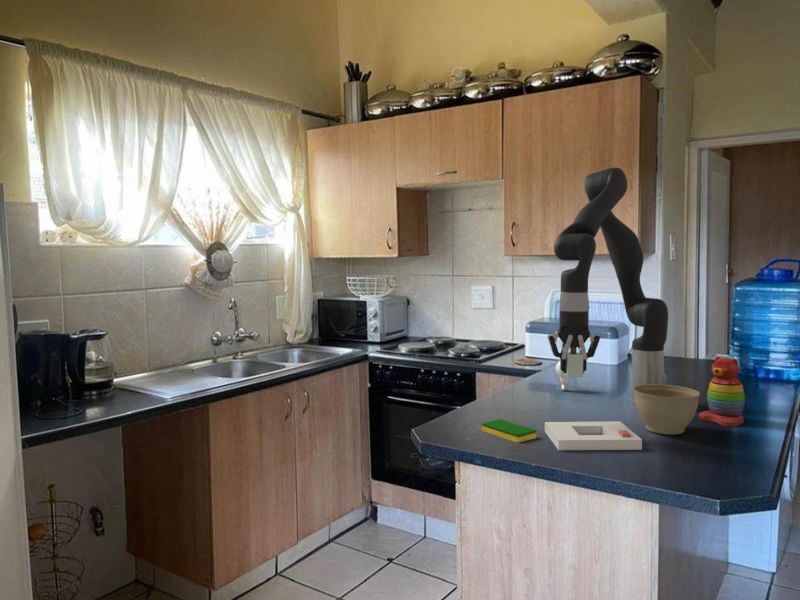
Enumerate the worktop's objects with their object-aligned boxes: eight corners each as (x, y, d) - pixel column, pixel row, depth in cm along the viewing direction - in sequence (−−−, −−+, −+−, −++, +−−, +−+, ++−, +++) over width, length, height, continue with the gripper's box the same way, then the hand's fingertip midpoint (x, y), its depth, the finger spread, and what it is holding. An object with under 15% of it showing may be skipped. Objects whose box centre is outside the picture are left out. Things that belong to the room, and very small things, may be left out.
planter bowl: (694, 442, 153) (695, 399, 152) (627, 433, 161) (627, 393, 160) (702, 427, 166) (702, 387, 165) (639, 419, 175) (639, 381, 174)
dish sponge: (517, 444, 155) (517, 435, 155) (480, 431, 167) (480, 423, 166) (537, 439, 159) (537, 430, 159) (500, 427, 171) (500, 418, 170)
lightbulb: (554, 392, 210) (554, 360, 209) (557, 388, 216) (557, 357, 215) (573, 393, 208) (573, 361, 207) (575, 389, 214) (575, 358, 213)
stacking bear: (694, 418, 175) (696, 356, 174) (720, 414, 179) (721, 353, 178) (728, 427, 165) (730, 362, 164) (754, 423, 169) (756, 359, 168)
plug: (578, 373, 167) (578, 344, 166) (582, 377, 162) (583, 347, 161) (563, 373, 167) (563, 344, 167) (567, 377, 162) (568, 347, 162)
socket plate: (619, 430, 164) (620, 418, 164) (641, 449, 148) (642, 436, 148) (544, 431, 165) (544, 419, 164) (558, 450, 149) (558, 436, 148)
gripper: (597, 307, 167) (596, 370, 168) (544, 307, 167) (543, 370, 169) (605, 310, 159) (603, 375, 160) (549, 310, 160) (548, 375, 161)
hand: (573, 372), depth 164 cm, fingers closed on plug, 4 cm apart
